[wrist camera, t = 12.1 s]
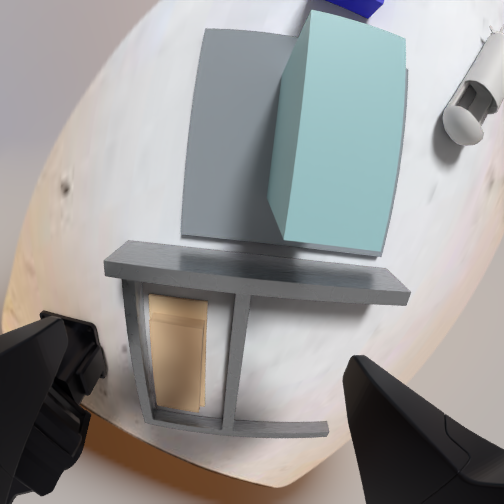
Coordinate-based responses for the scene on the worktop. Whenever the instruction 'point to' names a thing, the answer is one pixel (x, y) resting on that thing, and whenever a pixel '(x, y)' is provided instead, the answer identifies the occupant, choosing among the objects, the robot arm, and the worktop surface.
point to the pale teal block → (338, 133)
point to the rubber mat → (240, 139)
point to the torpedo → (478, 93)
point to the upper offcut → (177, 360)
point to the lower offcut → (183, 309)
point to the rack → (235, 314)
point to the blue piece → (359, 6)
